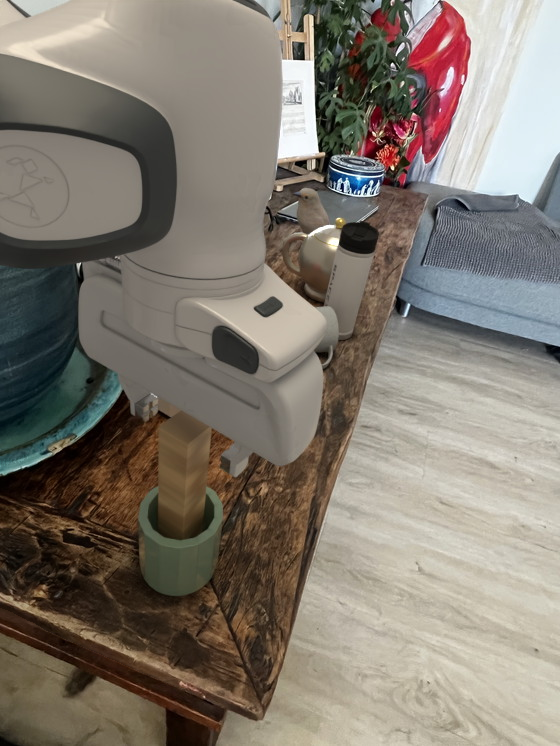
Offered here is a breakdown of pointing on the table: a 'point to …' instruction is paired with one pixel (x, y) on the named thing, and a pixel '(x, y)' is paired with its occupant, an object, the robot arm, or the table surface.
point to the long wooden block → (182, 476)
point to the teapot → (315, 258)
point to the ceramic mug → (328, 333)
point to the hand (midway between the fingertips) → (187, 440)
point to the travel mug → (350, 273)
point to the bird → (310, 211)
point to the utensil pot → (178, 549)
